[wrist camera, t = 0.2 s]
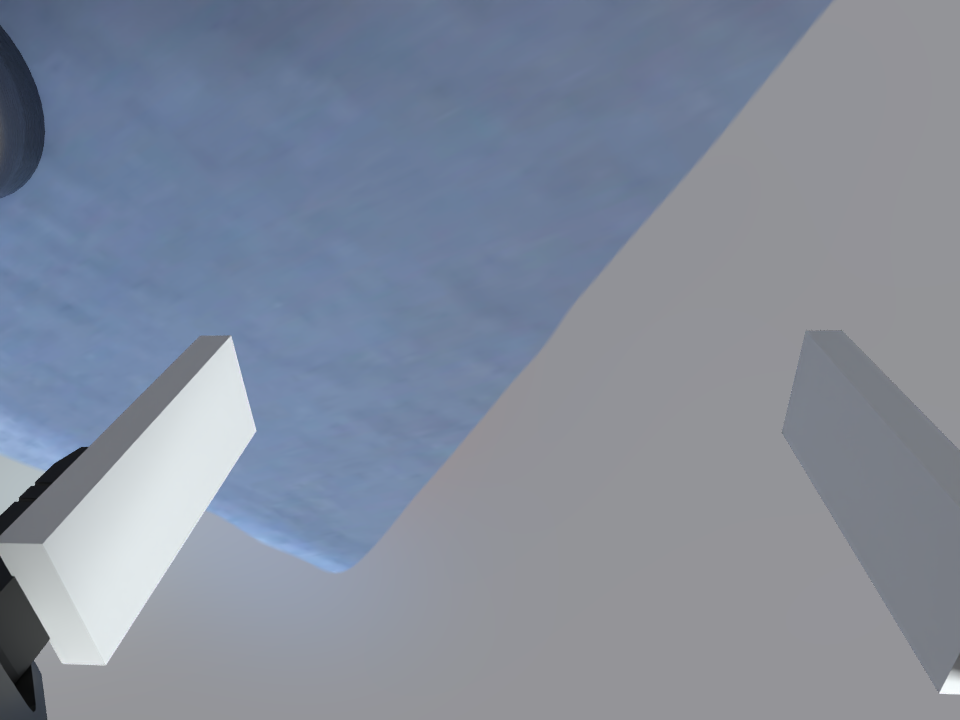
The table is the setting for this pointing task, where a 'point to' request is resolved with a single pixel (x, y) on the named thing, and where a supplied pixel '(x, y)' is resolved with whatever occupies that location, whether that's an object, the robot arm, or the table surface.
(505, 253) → the table surface
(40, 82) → the table surface
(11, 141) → the toothed ring drum
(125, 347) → the table surface
